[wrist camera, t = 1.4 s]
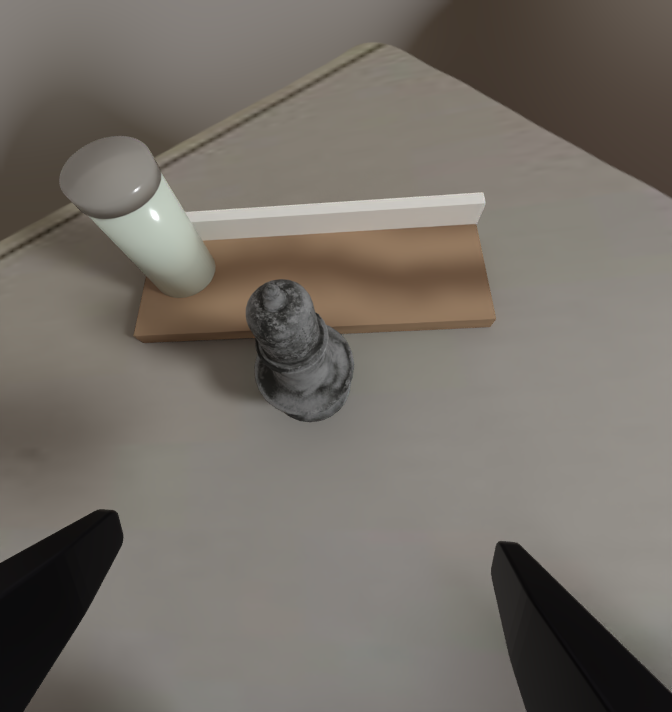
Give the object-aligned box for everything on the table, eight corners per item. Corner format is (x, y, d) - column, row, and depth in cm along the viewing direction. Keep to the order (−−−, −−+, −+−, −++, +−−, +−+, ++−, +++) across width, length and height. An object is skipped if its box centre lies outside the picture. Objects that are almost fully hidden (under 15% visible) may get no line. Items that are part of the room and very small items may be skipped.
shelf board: (490, 326, 25) (496, 318, 23) (143, 342, 26) (133, 336, 25) (469, 224, 28) (474, 213, 27) (162, 243, 29) (155, 233, 28)
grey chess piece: (370, 367, 24) (378, 257, 13) (326, 443, 22) (291, 392, 11) (299, 330, 26) (250, 202, 14) (252, 399, 24) (156, 314, 13)
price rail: (472, 234, 28) (485, 203, 25) (161, 253, 29) (138, 225, 26) (469, 222, 28) (482, 190, 25) (164, 241, 29) (141, 212, 26)
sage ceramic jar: (158, 307, 26) (61, 215, 17) (150, 257, 27) (57, 151, 19) (222, 286, 26) (157, 186, 18) (209, 237, 28) (145, 126, 19)
